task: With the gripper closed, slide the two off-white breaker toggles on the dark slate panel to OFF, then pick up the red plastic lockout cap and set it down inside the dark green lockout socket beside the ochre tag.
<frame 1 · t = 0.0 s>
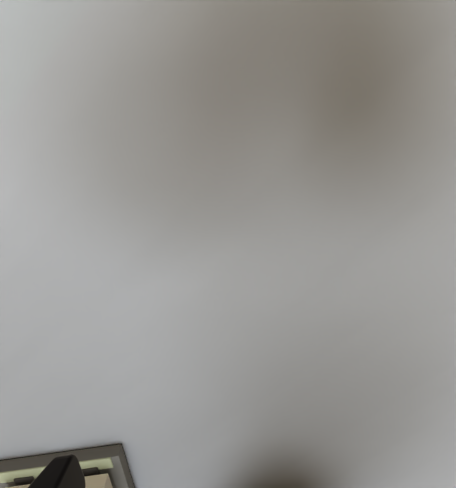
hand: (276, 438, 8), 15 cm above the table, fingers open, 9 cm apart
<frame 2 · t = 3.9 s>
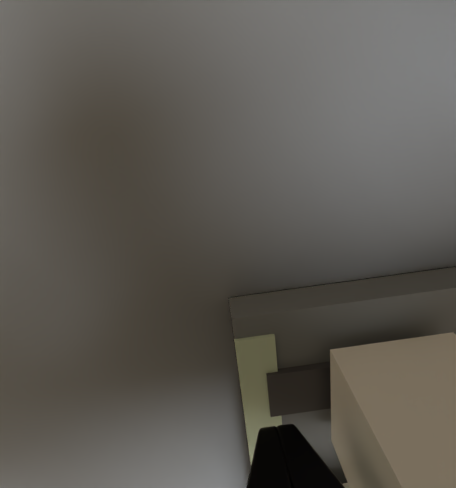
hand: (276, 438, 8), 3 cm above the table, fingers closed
toggle A: (429, 451, 8), point 3 cm above the table, slide at 1.2 cm, touching gripper
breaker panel: (416, 404, 11), on the table
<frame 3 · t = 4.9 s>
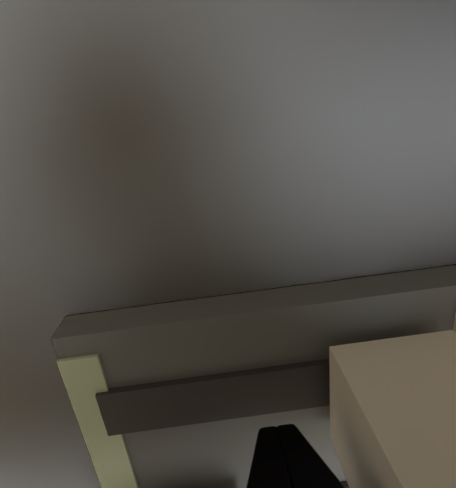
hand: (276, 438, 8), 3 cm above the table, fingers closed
toggle A: (427, 447, 8), point 3 cm above the table, slide at 5.6 cm, touching gripper
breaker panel: (280, 421, 11), on the table
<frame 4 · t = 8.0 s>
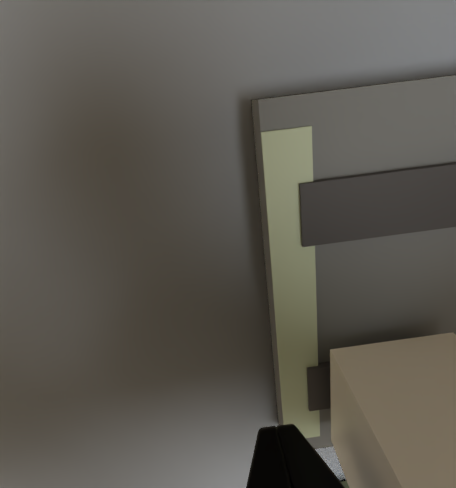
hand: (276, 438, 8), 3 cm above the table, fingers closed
toggle B: (428, 451, 8), point 3 cm above the table, slide at 0.2 cm, touching gripper
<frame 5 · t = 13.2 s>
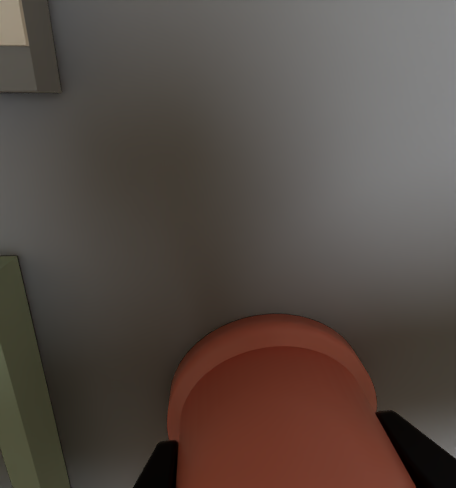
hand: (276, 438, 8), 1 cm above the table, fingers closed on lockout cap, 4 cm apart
lockout cap: (267, 397, 9), on the table, touching gripper
when the fingers open (3 cm above the table, at t = 16.8 s): lockout cap drops 2 cm, resting in lockout socket.
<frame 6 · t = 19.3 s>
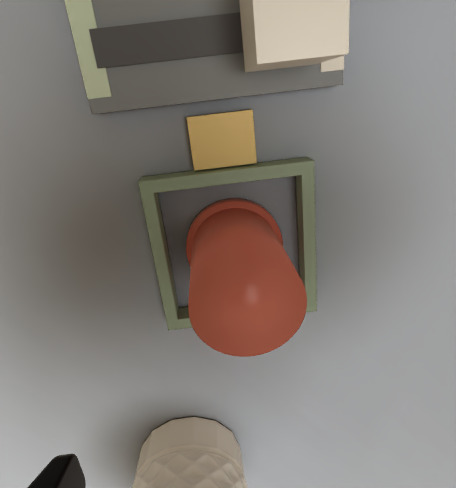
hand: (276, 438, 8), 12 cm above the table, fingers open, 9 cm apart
lockout socket: (233, 243, 19), on the table
toggle B: (288, 17, 13), point 3 cm above the table, slide at 5.7 cm
white cup: (191, 449, 25), on the table
lockout cap: (233, 243, 19), resting in lockout socket
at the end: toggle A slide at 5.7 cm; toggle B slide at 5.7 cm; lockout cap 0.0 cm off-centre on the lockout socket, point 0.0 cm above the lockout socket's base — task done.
